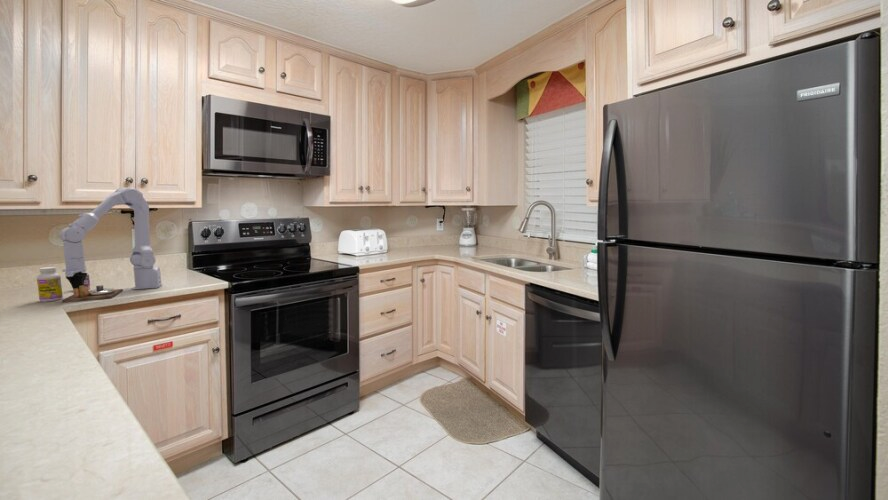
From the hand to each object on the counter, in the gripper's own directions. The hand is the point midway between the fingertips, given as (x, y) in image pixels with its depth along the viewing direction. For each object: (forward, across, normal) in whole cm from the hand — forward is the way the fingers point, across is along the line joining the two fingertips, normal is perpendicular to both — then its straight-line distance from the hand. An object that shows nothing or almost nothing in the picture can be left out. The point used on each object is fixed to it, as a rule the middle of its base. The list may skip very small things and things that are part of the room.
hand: (78, 291), depth 163 cm
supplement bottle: (+3, 0, -9) cm, 9 cm away
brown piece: (+3, -1, +5) cm, 5 cm away
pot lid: (+1, 0, +5) cm, 5 cm away
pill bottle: (+3, -19, -5) cm, 20 cm away
